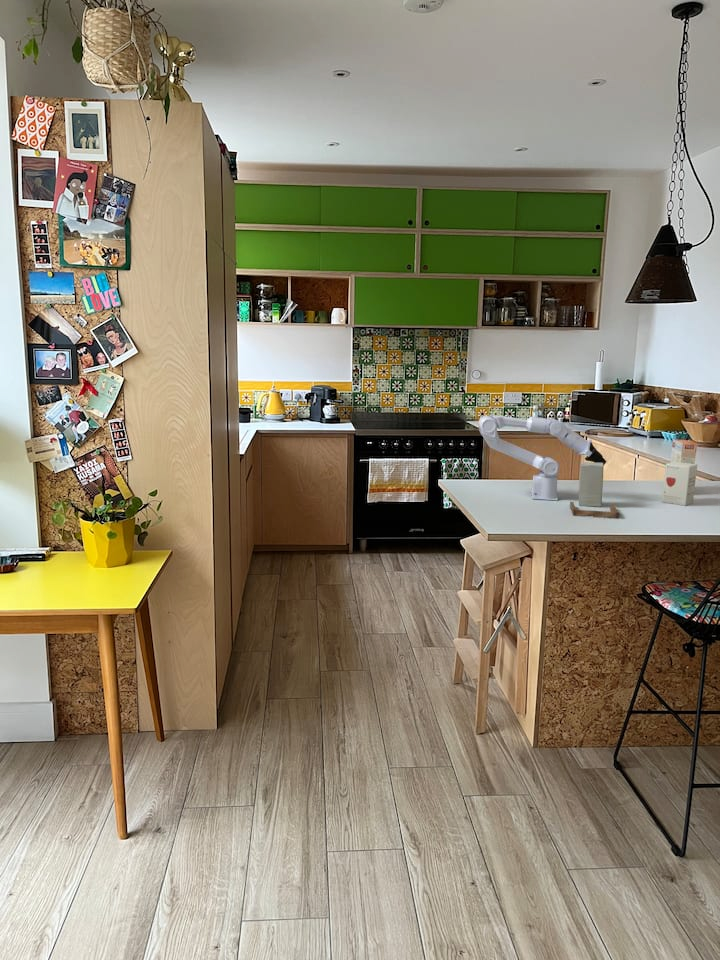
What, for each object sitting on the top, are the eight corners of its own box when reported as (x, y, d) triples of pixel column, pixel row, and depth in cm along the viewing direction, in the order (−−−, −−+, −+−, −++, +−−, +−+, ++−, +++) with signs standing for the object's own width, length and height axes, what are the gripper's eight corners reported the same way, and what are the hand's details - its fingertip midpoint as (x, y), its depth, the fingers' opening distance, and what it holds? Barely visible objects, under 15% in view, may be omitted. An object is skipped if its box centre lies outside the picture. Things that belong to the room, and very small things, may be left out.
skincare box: (601, 504, 265) (604, 462, 262) (601, 508, 259) (604, 465, 256) (577, 502, 268) (581, 460, 265) (577, 505, 261) (580, 463, 258)
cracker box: (692, 495, 286) (697, 443, 282) (676, 494, 287) (681, 443, 283) (682, 488, 300) (687, 439, 296) (667, 487, 301) (672, 438, 297)
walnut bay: (573, 515, 245) (573, 510, 245) (569, 507, 259) (570, 501, 259) (618, 518, 243) (619, 512, 242) (612, 509, 256) (613, 504, 256)
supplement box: (661, 502, 271) (664, 463, 268) (669, 498, 278) (673, 461, 275) (685, 506, 265) (689, 466, 262) (693, 502, 271) (698, 464, 269)
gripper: (583, 436, 261) (613, 457, 262) (577, 428, 275) (606, 448, 275) (571, 451, 263) (601, 472, 264) (566, 442, 277) (594, 462, 278)
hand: (603, 461), depth 270 cm, fingers open, 7 cm apart
